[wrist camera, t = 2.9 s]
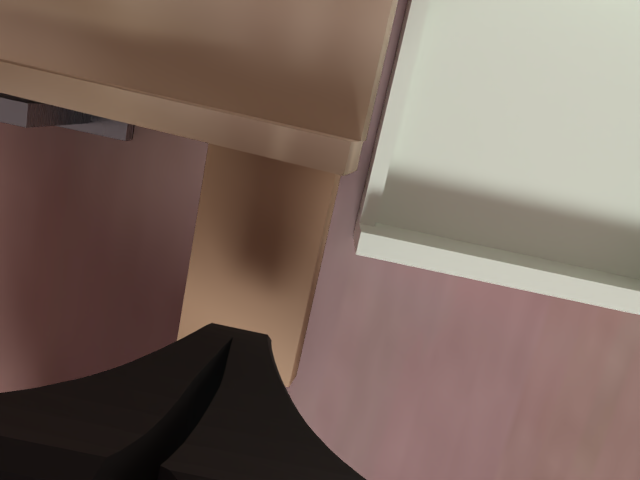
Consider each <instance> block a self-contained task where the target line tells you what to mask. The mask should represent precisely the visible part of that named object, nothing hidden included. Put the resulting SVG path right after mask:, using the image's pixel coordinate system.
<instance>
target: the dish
mask: <svg viewBox="0 0 640 480" xmlns="http://www.w3.org/2000/svg"><path fill="white" fill-rule="evenodd" d="M353 239H354V246H355V253H356V254H357V255H361V256H366V257H371V258H375V259H380V260H385V261H389V262H394V263H399V264H404V265H408V266H413V267H418V268H422V269H427V270H432V271H436V272H441V273H446V274H450V275H455V276H460V277H465V278H469V279H474V280H479V281H483V282H488V283H493V284H497V285H502V286H507V287H511V288H516V289H521V290H526V291H530V292H535V293H540V294H544V295H549V296H554V297H558V298H563V299H568V300H572V301H577V302H582V303H586V304H591V305H596V306H601V307H605V308H610V309H615V310H619V311H624V312H629V313H633V314H638V315H640V0H408V4H407V8H406V12H405V17H404V21H403V25H402V29H401V34H400V38H399V42H398V46H397V51H396V55H395V59H394V63H393V68H392V72H391V76H390V80H389V85H388V89H387V93H386V97H385V102H384V106H383V110H382V115H381V119H380V123H379V127H378V132H377V136H376V140H375V144H374V149H373V153H372V157H371V161H370V166H369V170H368V174H367V178H366V183H365V187H364V191H363V196H362V200H361V204H360V208H359V213H358V217H357V221H356V225H355V230H354V234H353Z"/></svg>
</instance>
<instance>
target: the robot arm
mask: <svg viewBox="0 0 640 480" xmlns="http://www.w3.org/2000/svg"><path fill="white" fill-rule="evenodd" d="M271 342H272V340H271V339H270V337H269V336H268V334H263V333H258V332H253V331H248V330H244V329H239V328H234V327H229V326H225V325H220V324H215V323H210V324H208V325H206V326H204V327H202V328H200V329H198V330H197V331H195V332H193V333H191V334H189V335H187V336H186V337H184V338H182V339H180V340H178V341H176V342H174V343H172V344H170V345H168V346H166V347H164V348H162V349H160V350H158V351H155V352H153V353H151V354H148V355H146V356H144V357H142V358H139V359H137V360H135V361H132V362H130V363H127V364H125V365H122V366H119V367H116V368H114V369H111V370H107V371H104V372H101V373H98V374H94V375H91V376H87V377H84V378H80V379H75V380H71V381H66V382H61V383H57V384H52V385H47V386H43V387H38V388H32V389H26V390H19V391H12V392H5V393H0V480H366V479H365V478H363V477H362V476H361V475H359V474H358V473H357V472H356V471H354V470H353V469H352V468H351V467H349V466H348V465H347V464H346V463H345V462H343V461H342V460H341V459H340V458H339V457H338V456H337V455H335V454H334V453H333V452H332V451H331V450H330V449H329V448H328V447H327V446H326V445H325V444H324V443H323V442H322V440H321V439H320V438H319V437H318V436H317V435H316V434H315V433H314V432H313V431H312V429H311V428H310V427H309V426H308V425H307V423H306V422H305V421H304V419H303V418H302V416H301V415H300V413H299V412H298V410H297V409H296V407H295V405H294V403H293V402H292V400H291V398H290V396H289V394H288V392H287V390H286V388H285V386H284V384H283V381H282V379H281V376H280V374H279V371H278V369H277V366H276V363H275V359H274V356H273V351H272V344H271Z"/></svg>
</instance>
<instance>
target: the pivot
mask: <svg viewBox="0 0 640 480" xmlns="http://www.w3.org/2000/svg"><path fill="white" fill-rule="evenodd" d="M0 122H3V123H7V124H12V125H17V126H21V127H26V128H27V127H42V126H59V127H63V128H68V129H73V130H77V131H82V132H87V133H91V134H96V135H100V136H105V137H110V138H114V139H119V140H124V141H128V140H132V138H133V130H134V125H132V124H128V123H124V122H119V121H115V120H111V119H107V118H103V117H99V116H95V115H91V114H87V113H82V112H78V111H74V110H70V109H66V108H62V107H58V106H54V105H49V104H45V103H41V102H37V101H33V100H29V99H25V98H21V97H16V96H12V95H8V94H4V93H0Z"/></svg>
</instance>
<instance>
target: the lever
mask: <svg viewBox="0 0 640 480" xmlns="http://www.w3.org/2000/svg"><path fill="white" fill-rule="evenodd" d="M397 3H398V0H0V93H4V94H8V95H12V96H16V97H21V98H25V99H29V100H33V101H37V102H41V103H45V104H49V105H54V106H58V107H62V108H66V109H70V110H74V111H78V112H82V113H87V114H91V115H95V116H99V117H103V118H107V119H111V120H115V121H119V122H124V123H128V124H132V125H136V126H140V127H144V128H148V129H152V130H157V131H161V132H165V133H169V134H173V135H177V136H181V137H185V138H190V139H194V140H198V141H202V142H206V143H209V144H208V151H207V157H206V163H205V169H204V175H203V182H202V188H201V194H200V200H199V207H198V213H197V219H196V225H195V231H194V238H193V244H192V250H191V256H190V262H189V269H188V275H187V281H186V287H185V294H184V300H183V306H182V312H181V318H180V325H179V331H178V337H177V341H178V340H180V339H182V338H184V337H186V336H187V335H189V334H191V333H193V332H195V331H197V330H198V329H200V328H202V327H204V326H206V325H208V324H210V323H215V324H220V325H225V326H229V327H234V328H239V329H244V330H248V331H253V332H258V333H263V334H268V336H269V337H270V339H271V340H272V342H271V344H272V351H273V356H274V359H275V363H276V366H277V369H278V371H279V374H280V376H281V379H282V381H283V384H284V386H287V387H289V386H290V385H291V383H292V381H293V380H294V378H295V377H296V374H297V370H298V366H299V361H300V357H301V352H302V348H303V343H304V339H305V334H306V330H307V325H308V321H309V316H310V312H311V307H312V303H313V298H314V294H315V289H316V285H317V280H318V276H319V271H320V267H321V262H322V258H323V253H324V249H325V244H326V240H327V235H328V231H329V226H330V222H331V217H332V213H333V208H334V204H335V199H336V195H337V190H338V186H339V181H340V177H341V175H342V176H345V175H347V174H350V173H352V172H354V171H357V166H358V162H359V158H360V153H361V149H362V145H363V141H366V138H367V134H368V129H369V125H370V121H371V116H372V112H373V108H374V103H375V99H376V95H377V90H378V86H379V82H380V77H381V73H382V69H383V64H384V60H385V56H386V51H387V47H388V43H389V38H390V34H391V30H392V25H393V21H394V17H395V12H396V8H397Z"/></svg>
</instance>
